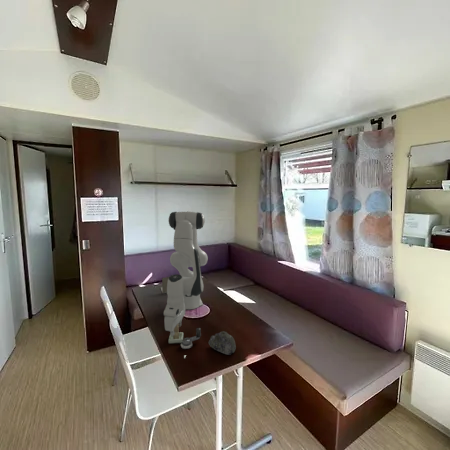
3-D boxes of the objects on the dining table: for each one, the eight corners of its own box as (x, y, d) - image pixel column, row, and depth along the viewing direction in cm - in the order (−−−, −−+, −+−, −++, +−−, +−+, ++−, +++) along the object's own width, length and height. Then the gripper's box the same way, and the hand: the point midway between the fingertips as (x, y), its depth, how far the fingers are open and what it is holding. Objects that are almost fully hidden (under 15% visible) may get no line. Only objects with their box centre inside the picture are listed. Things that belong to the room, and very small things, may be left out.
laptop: (181, 285, 221) (181, 271, 219) (184, 290, 209) (184, 275, 208) (160, 288, 214) (160, 273, 213) (162, 293, 202) (162, 277, 201)
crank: (184, 346, 129) (184, 335, 129) (180, 342, 133) (180, 332, 132) (202, 340, 135) (202, 330, 134) (198, 336, 139) (198, 326, 138)
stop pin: (173, 336, 139) (173, 321, 138) (179, 336, 140) (178, 321, 138) (173, 340, 136) (172, 324, 135) (178, 339, 137) (178, 324, 135)
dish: (170, 336, 141) (170, 332, 141) (183, 335, 142) (183, 332, 141) (168, 343, 134) (168, 339, 134) (182, 342, 135) (182, 339, 135)
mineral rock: (207, 345, 133) (207, 327, 131) (225, 340, 138) (225, 322, 137) (219, 359, 121) (219, 339, 120) (238, 352, 127) (238, 333, 126)
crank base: (181, 342, 135) (181, 340, 135) (192, 342, 136) (192, 340, 135) (178, 358, 122) (178, 356, 122) (191, 358, 122) (190, 356, 122)
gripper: (177, 297, 147) (177, 320, 148) (161, 313, 127) (162, 340, 128) (187, 298, 145) (188, 321, 147) (173, 315, 125) (174, 341, 127)
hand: (176, 330), depth 137 cm, fingers open, 8 cm apart
